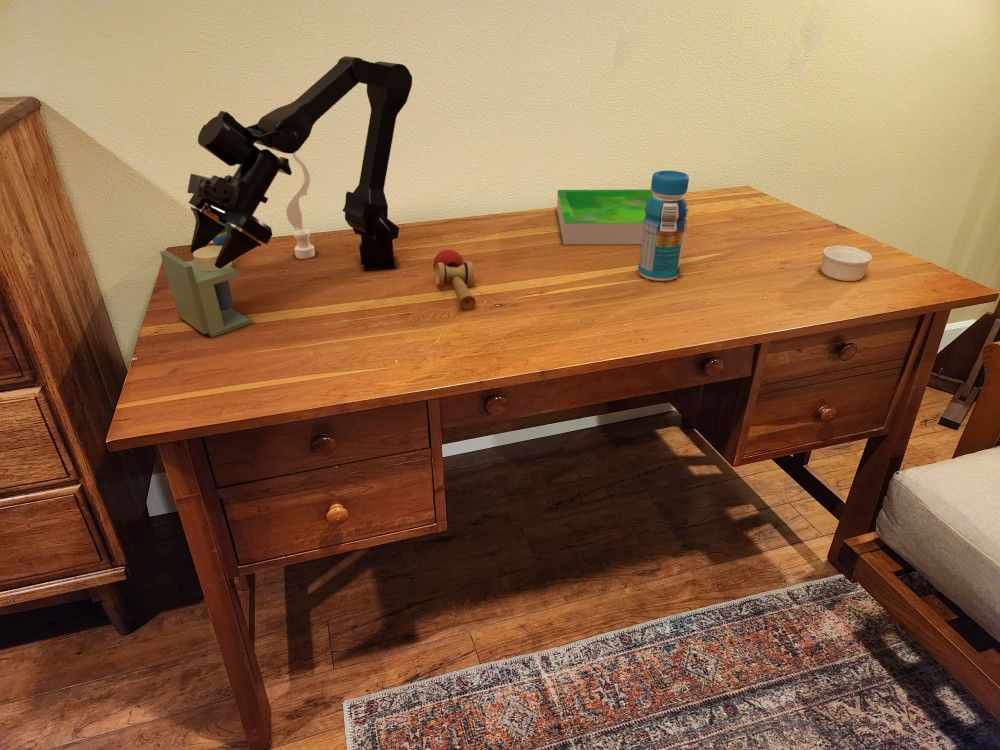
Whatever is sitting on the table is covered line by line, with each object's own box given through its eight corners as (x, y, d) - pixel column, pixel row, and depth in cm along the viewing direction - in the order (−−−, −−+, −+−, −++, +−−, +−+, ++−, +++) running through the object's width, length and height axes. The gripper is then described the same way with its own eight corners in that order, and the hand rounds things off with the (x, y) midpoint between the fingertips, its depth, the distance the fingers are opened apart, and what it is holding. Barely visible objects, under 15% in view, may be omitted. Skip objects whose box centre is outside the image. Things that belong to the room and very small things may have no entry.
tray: (675, 244, 150) (678, 222, 147) (563, 244, 150) (564, 222, 148) (654, 209, 171) (657, 189, 169) (556, 209, 172) (557, 189, 169)
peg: (243, 298, 123) (231, 244, 117) (239, 312, 118) (226, 256, 112) (210, 301, 122) (196, 246, 116) (204, 315, 117) (189, 259, 111)
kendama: (492, 312, 124) (466, 264, 138) (486, 284, 120) (460, 237, 133) (452, 324, 123) (430, 275, 137) (445, 296, 119) (423, 248, 132)
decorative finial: (294, 259, 144) (273, 139, 131) (293, 253, 147) (272, 134, 134) (322, 256, 145) (304, 136, 132) (320, 249, 149) (302, 132, 136)
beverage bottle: (629, 274, 135) (639, 175, 125) (651, 263, 141) (663, 166, 130) (665, 286, 131) (679, 183, 120) (687, 273, 136) (702, 174, 125)
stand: (221, 305, 125) (205, 238, 118) (251, 323, 118) (235, 254, 112) (178, 319, 120) (158, 250, 113) (206, 339, 113) (187, 268, 107)
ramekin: (875, 276, 134) (882, 256, 131) (847, 286, 130) (853, 265, 128) (836, 262, 140) (841, 242, 138) (808, 271, 136) (813, 250, 134)
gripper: (186, 144, 114) (138, 223, 113) (239, 163, 103) (187, 251, 102) (239, 181, 123) (195, 254, 122) (293, 202, 112) (246, 283, 111)
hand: (204, 260), depth 114 cm, fingers open, 9 cm apart
